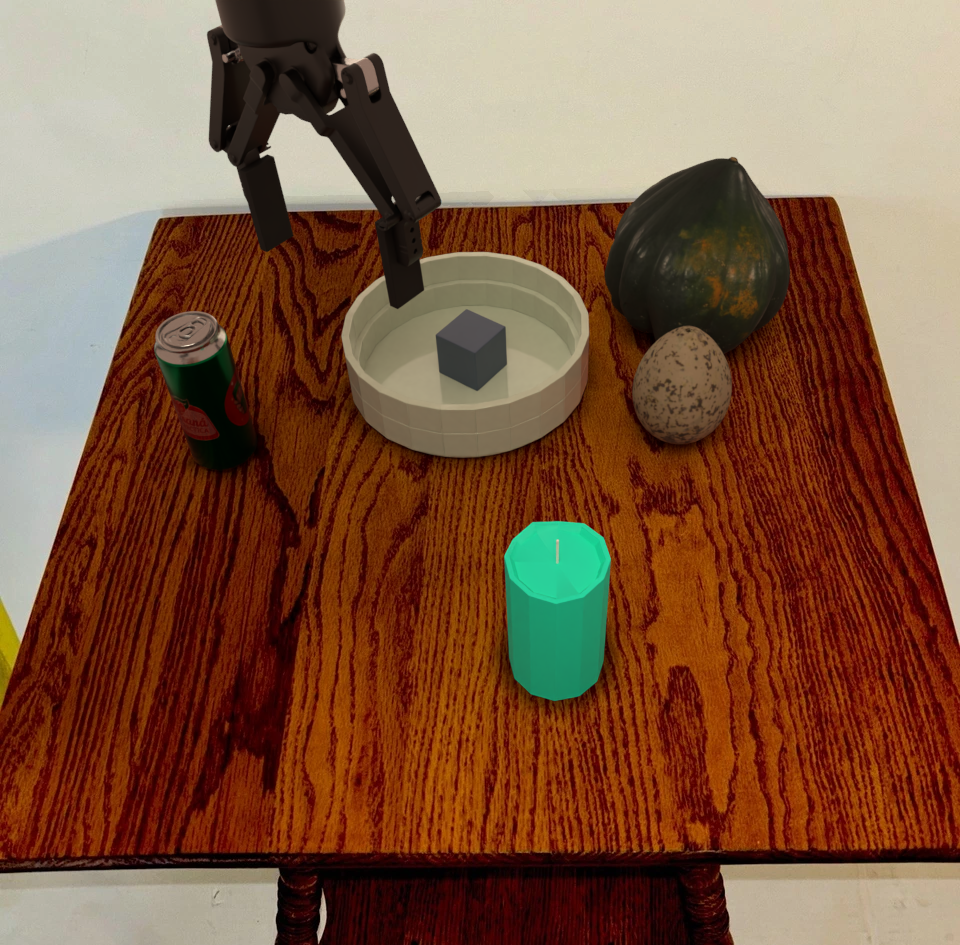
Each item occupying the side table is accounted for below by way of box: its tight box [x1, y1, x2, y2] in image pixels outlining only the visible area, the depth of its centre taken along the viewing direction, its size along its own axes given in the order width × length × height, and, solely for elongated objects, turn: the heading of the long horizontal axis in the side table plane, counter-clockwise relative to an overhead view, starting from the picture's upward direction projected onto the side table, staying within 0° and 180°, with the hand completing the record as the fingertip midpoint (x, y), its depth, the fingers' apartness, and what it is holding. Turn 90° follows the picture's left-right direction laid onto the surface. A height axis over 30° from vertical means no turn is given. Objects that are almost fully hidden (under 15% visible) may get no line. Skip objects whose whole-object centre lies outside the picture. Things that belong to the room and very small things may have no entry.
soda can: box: [153, 310, 258, 472], centre depth 76 cm, size 5×5×12 cm
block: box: [436, 309, 507, 391], centre depth 83 cm, size 4×4×4 cm
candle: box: [503, 520, 612, 702], centre depth 62 cm, size 6×6×12 cm
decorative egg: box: [631, 326, 733, 445], centre depth 76 cm, size 7×7×10 cm
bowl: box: [340, 251, 590, 459], centre depth 83 cm, size 19×19×6 cm
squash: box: [603, 156, 791, 355], centre depth 84 cm, size 14×15×15 cm
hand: (339, 269), depth 75 cm, fingers open, 13 cm apart
